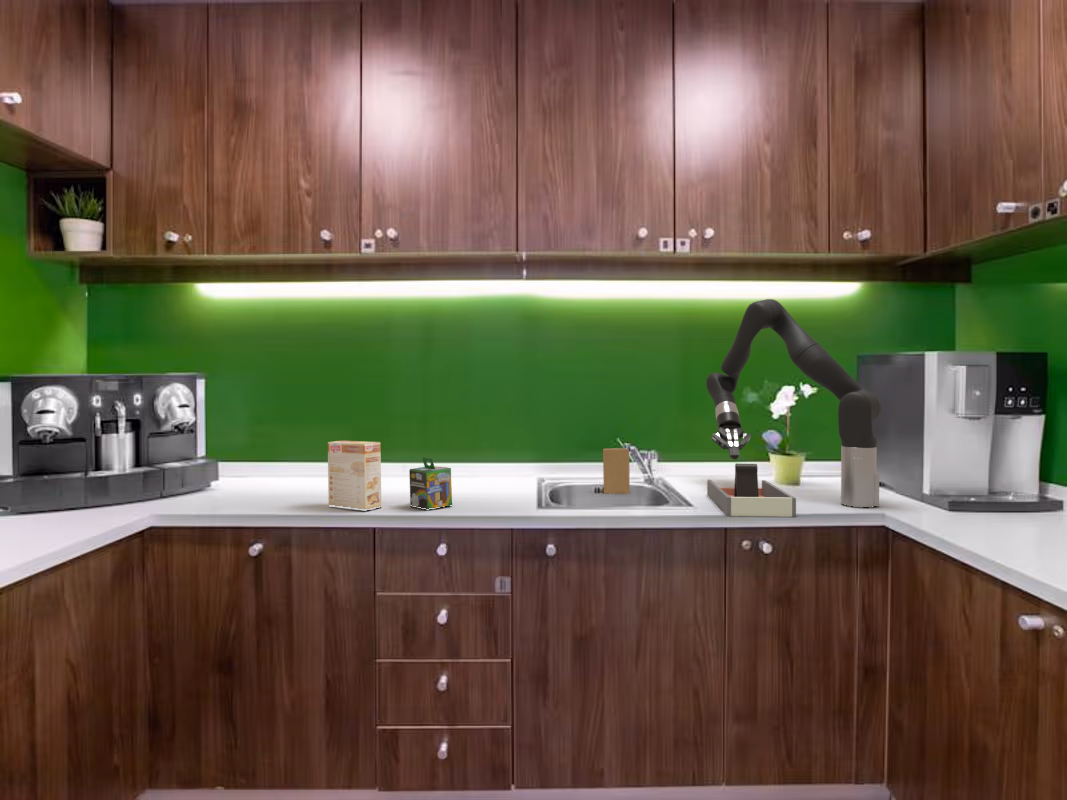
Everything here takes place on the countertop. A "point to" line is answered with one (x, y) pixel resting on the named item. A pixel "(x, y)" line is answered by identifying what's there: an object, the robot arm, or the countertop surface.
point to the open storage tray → (753, 501)
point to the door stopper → (746, 480)
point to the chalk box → (430, 486)
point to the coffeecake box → (354, 474)
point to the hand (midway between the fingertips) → (735, 457)
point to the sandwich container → (616, 471)
